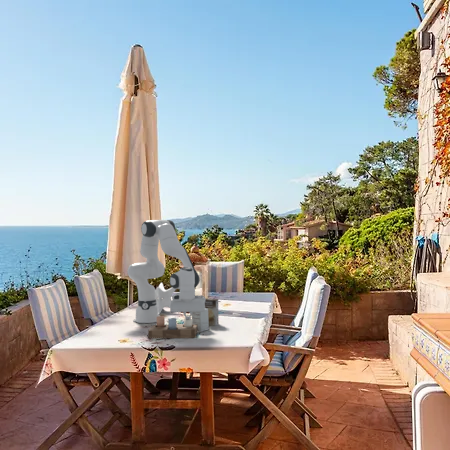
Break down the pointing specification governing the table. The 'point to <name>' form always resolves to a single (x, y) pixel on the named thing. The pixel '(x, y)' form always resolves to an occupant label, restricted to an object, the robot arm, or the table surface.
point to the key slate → (172, 324)
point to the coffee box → (212, 311)
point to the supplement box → (201, 320)
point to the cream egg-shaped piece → (187, 323)
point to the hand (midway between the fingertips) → (188, 319)
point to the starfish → (164, 294)
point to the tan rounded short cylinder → (160, 321)
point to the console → (173, 332)
